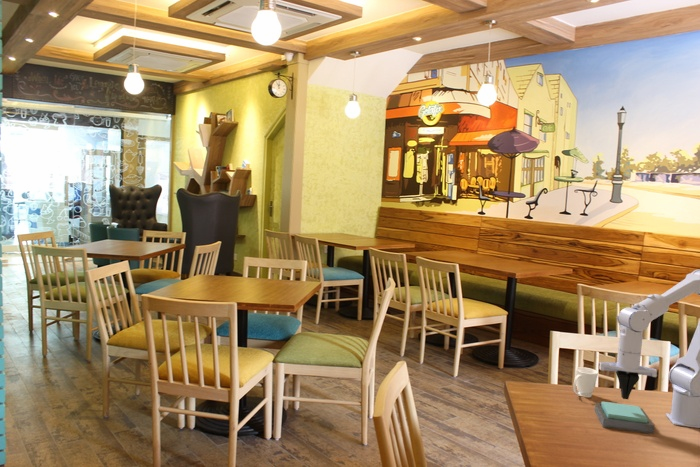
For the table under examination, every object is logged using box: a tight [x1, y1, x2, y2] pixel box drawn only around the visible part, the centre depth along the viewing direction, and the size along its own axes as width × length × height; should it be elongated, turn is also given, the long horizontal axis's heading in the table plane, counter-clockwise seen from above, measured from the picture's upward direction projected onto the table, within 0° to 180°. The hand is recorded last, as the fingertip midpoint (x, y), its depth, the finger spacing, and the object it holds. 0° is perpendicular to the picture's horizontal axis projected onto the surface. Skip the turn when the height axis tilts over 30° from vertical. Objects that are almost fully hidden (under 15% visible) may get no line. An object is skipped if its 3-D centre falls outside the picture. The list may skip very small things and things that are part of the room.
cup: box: [572, 366, 599, 398], centre depth 183 cm, size 7×10×8 cm
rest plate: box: [600, 401, 648, 423], centre depth 163 cm, size 10×10×2 cm
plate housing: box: [594, 401, 655, 435], centre depth 163 cm, size 13×13×2 cm
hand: (624, 398), depth 163 cm, fingers closed
